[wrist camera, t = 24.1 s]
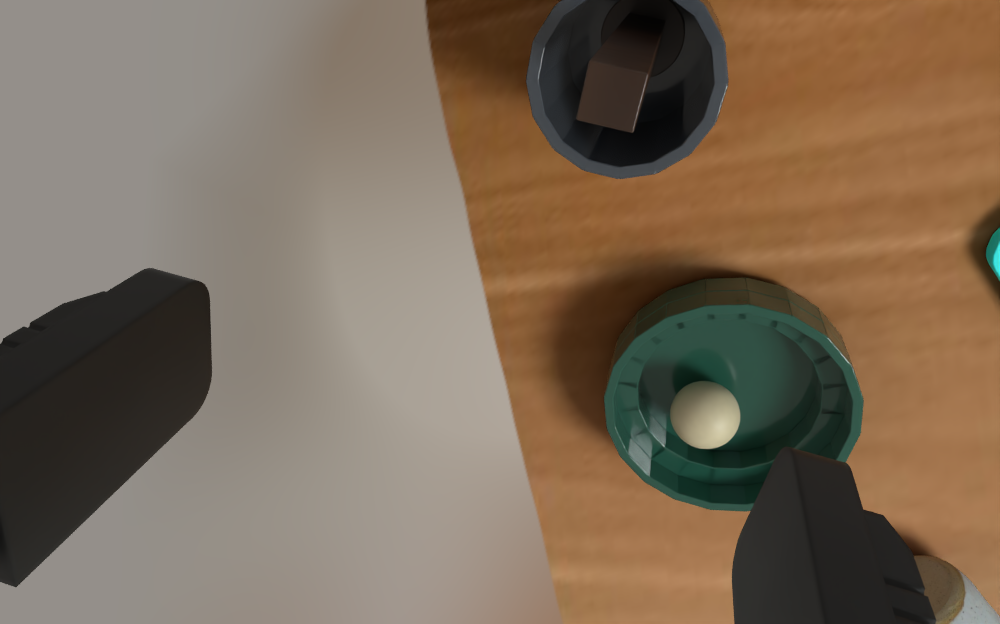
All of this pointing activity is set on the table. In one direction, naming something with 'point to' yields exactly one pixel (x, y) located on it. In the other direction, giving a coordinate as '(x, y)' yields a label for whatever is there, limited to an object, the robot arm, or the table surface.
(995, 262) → the handheld game console
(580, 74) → the crock
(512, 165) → the table surface
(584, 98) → the dark brown wooden bar
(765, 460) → the bowl
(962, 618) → the ceramic mug
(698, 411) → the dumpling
